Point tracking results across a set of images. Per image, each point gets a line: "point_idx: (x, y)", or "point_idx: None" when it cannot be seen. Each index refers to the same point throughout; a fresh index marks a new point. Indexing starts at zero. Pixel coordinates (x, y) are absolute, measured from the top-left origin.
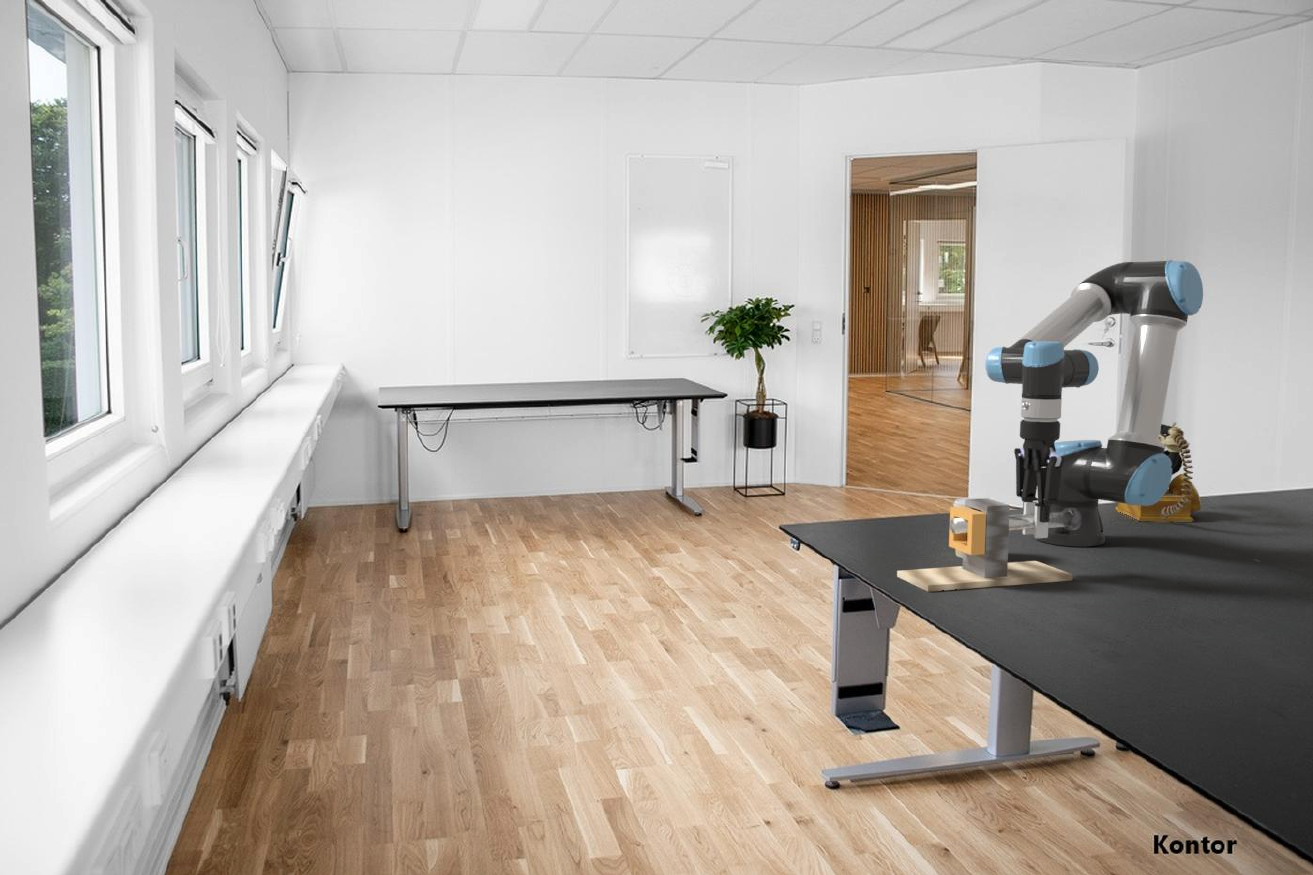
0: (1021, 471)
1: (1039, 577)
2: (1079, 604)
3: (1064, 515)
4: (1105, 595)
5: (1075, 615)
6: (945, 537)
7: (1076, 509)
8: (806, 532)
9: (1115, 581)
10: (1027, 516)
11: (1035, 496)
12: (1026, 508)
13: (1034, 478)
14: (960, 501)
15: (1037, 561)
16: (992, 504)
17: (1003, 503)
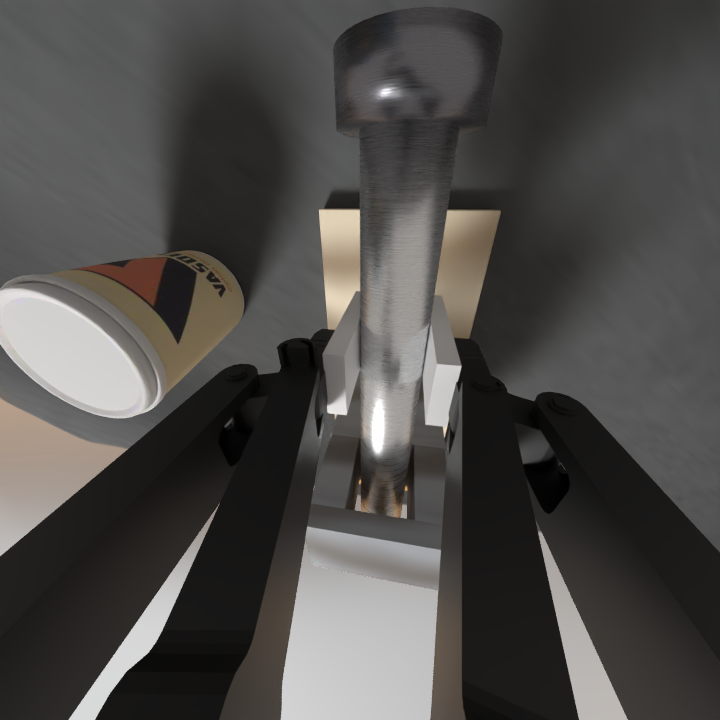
0: (146, 585)
1: (473, 319)
2: (664, 351)
3: (440, 193)
4: (677, 230)
5: (703, 408)
6: (17, 242)
7: (453, 26)
8: (74, 434)
9: (600, 31)
10: (406, 405)
11: (315, 376)
12: (351, 393)
13: (292, 528)
14: (82, 398)
15: (328, 211)
16: (420, 571)
17: (419, 548)
